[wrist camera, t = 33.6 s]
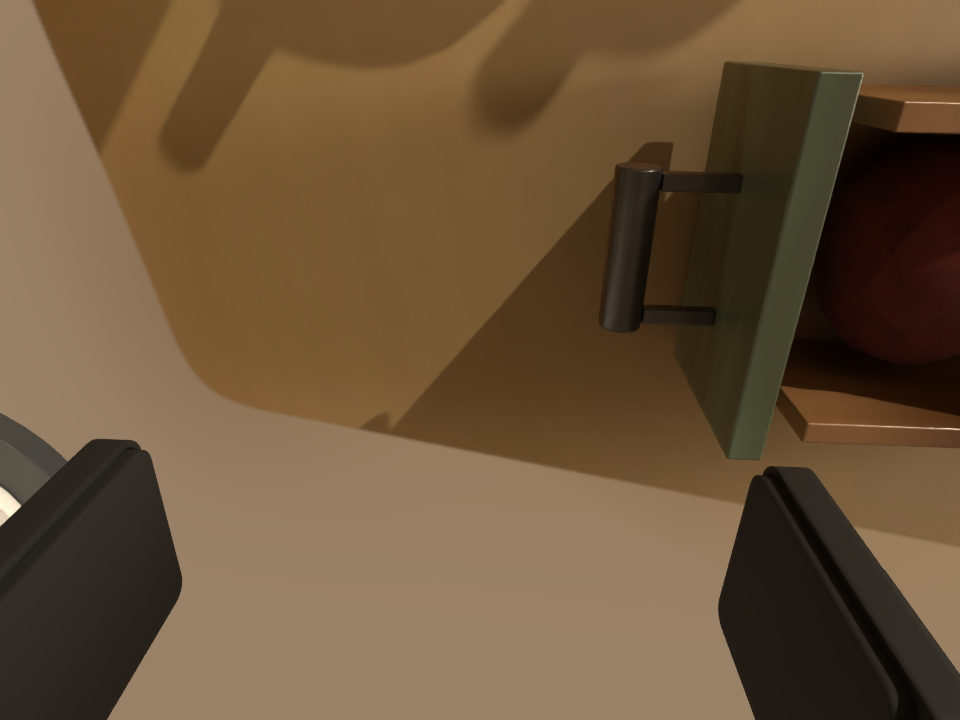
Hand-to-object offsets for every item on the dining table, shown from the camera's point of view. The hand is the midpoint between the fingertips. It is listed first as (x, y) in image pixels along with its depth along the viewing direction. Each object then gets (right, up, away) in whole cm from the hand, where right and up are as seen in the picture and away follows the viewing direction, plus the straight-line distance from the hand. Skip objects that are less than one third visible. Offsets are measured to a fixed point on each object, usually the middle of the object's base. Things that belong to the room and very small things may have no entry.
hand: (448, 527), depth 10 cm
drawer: (+14, +8, +17) cm, 23 cm away
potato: (+17, +8, +15) cm, 24 cm away
